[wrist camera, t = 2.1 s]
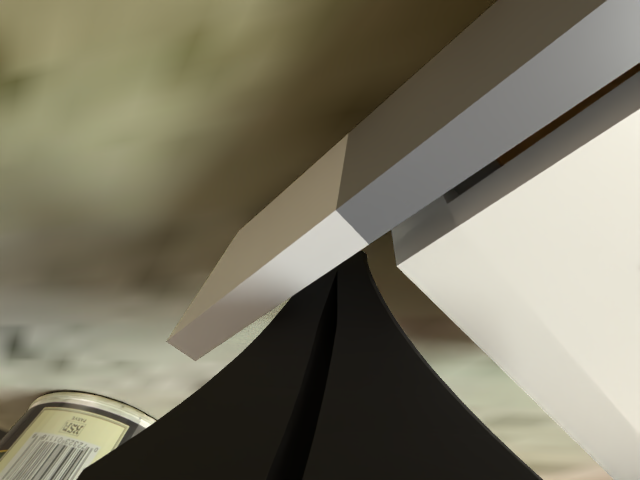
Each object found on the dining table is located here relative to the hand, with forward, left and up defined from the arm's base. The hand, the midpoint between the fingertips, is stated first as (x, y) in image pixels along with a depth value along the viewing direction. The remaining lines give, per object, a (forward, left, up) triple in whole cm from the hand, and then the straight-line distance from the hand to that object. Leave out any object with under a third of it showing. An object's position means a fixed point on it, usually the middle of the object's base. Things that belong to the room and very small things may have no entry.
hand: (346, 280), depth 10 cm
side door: (-5, -5, -2) cm, 8 cm away
